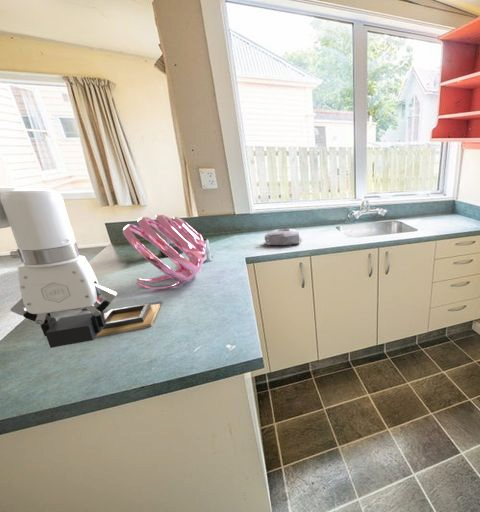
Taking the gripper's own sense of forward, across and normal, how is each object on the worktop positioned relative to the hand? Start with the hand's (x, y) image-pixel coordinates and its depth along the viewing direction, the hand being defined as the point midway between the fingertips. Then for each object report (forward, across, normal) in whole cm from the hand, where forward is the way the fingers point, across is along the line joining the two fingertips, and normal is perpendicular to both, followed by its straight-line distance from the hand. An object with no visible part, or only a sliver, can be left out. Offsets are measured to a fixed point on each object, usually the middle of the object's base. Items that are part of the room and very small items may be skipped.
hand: (77, 333), depth 63 cm
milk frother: (+12, +2, +102) cm, 102 cm away
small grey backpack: (+11, +57, +96) cm, 112 cm away
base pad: (+11, +1, +26) cm, 28 cm away
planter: (+11, +19, +79) cm, 82 cm away
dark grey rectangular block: (+1, 0, 0) cm, 1 cm away
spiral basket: (+11, +10, +54) cm, 56 cm away
